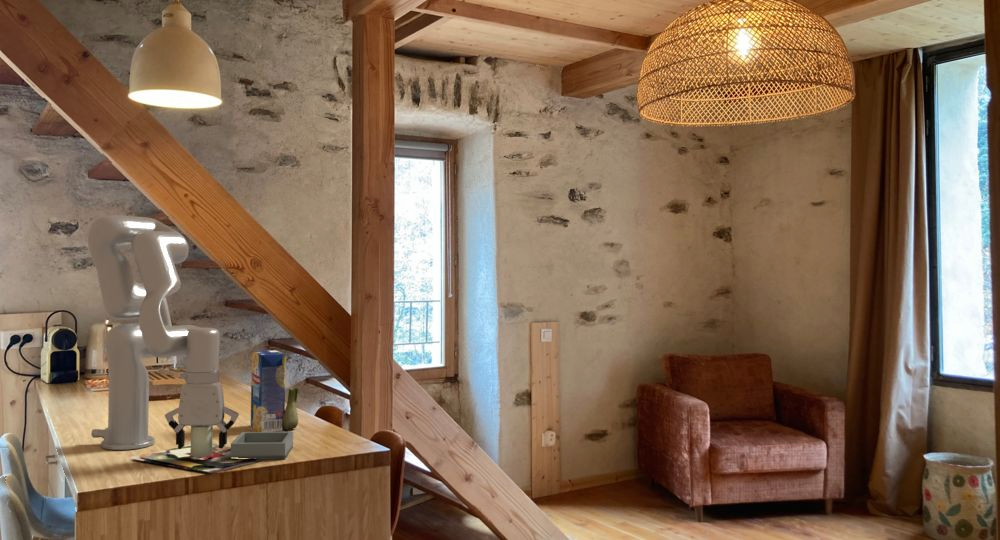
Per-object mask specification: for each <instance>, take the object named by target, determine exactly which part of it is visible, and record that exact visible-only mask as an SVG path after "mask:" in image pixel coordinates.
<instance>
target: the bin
mask: <svg viewBox="0 0 1000 540" xmlns="http://www.w3.org/2000/svg"><path fill="white" fill-rule="evenodd" d="M293 447H294V431H276V432H258V431H241V433H240V434H239V435H238V436H236V437H235V439H234V440H232V442H230V458H231V457H238V458H256V459H260V460H259V461H264V460H265V461H267V460H268V461H271V460H272V461H273V460H275V461H276V460H278V461H280V460H286V459H287V457H288V456H289V454H290V452H291V451H292V449H293Z"/></svg>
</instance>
